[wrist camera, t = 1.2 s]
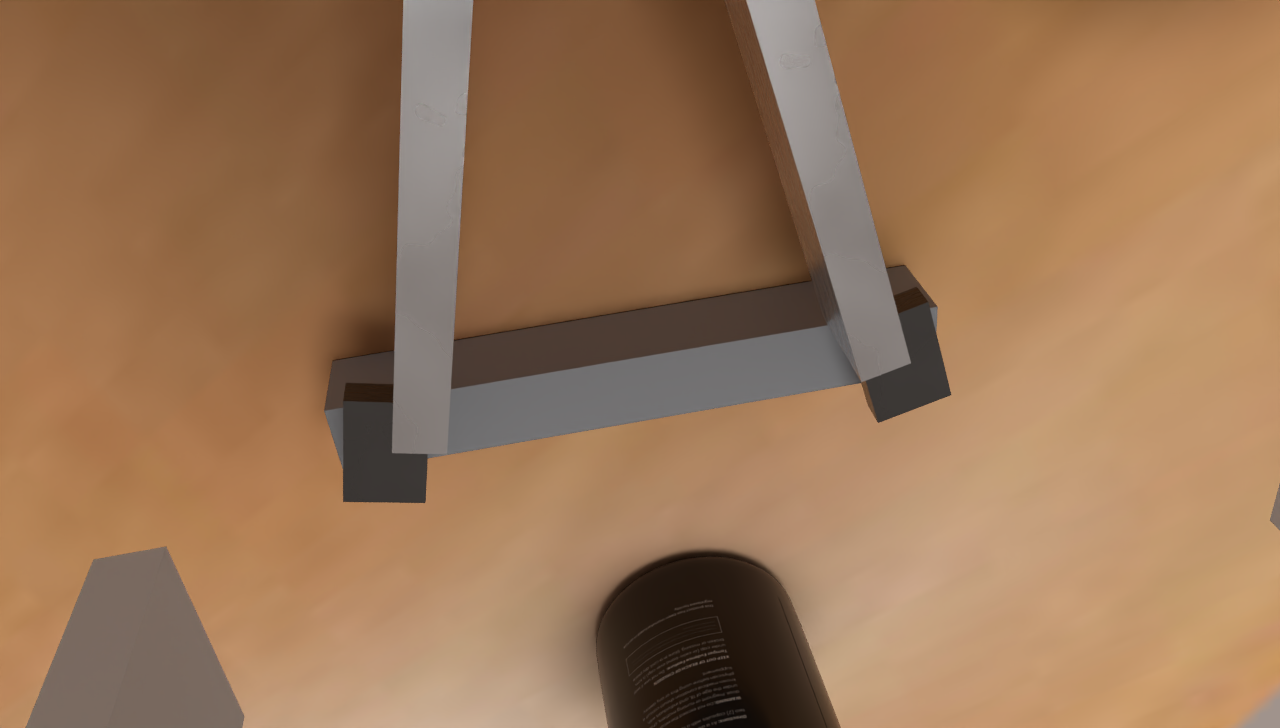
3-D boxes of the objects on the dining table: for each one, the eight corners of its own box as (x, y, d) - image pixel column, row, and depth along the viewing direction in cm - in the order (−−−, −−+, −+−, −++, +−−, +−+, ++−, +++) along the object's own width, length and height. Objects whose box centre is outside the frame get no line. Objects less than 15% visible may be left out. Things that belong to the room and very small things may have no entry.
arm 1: (345, -430, 18) (329, -447, 16) (490, -405, 19) (496, -418, 16) (346, 477, 28) (336, 556, 25) (441, 478, 28) (441, 556, 26)
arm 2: (593, -417, 19) (615, -431, 16) (723, -474, 19) (766, -498, 16) (851, 406, 29) (889, 475, 27) (936, 374, 29) (983, 440, 26)
